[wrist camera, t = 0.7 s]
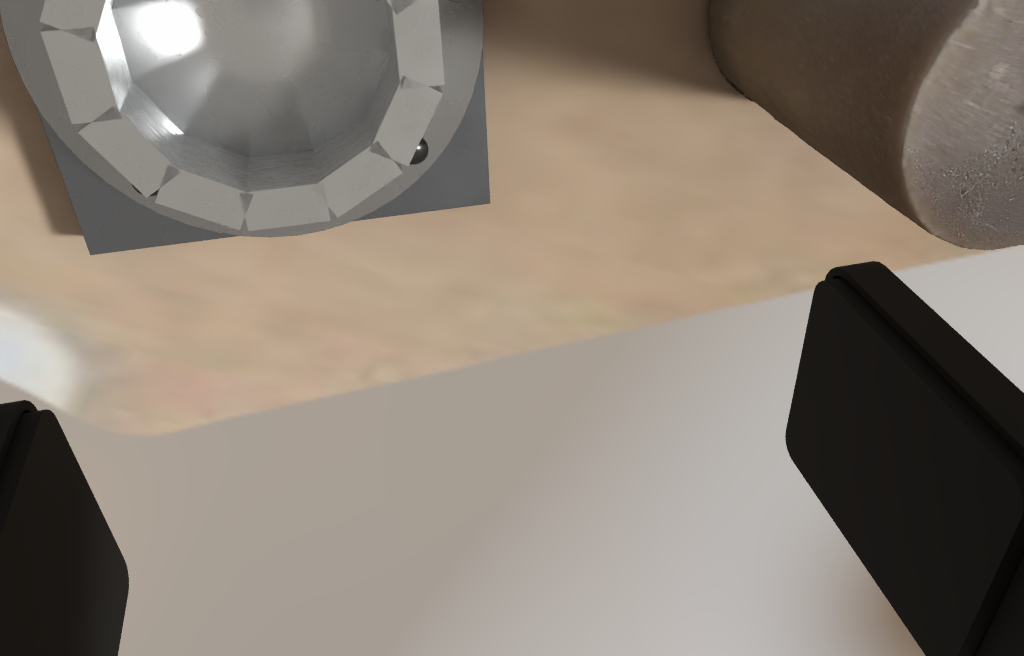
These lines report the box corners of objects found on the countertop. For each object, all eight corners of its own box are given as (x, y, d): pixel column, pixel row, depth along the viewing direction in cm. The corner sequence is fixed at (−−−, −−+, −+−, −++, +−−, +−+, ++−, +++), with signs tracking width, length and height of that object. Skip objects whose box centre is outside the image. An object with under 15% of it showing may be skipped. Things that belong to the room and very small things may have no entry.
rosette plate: (-70, -234, 26) (-136, -226, 22) (459, -256, 28) (489, -253, 24) (96, 237, 35) (72, 304, 31) (483, 188, 37) (508, 244, 33)
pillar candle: (794, 147, 40) (1023, 325, 28) (657, 15, 35) (864, 162, 23) (961, -28, 37) (1298, 86, 25) (838, -201, 32) (1186, -161, 20)
